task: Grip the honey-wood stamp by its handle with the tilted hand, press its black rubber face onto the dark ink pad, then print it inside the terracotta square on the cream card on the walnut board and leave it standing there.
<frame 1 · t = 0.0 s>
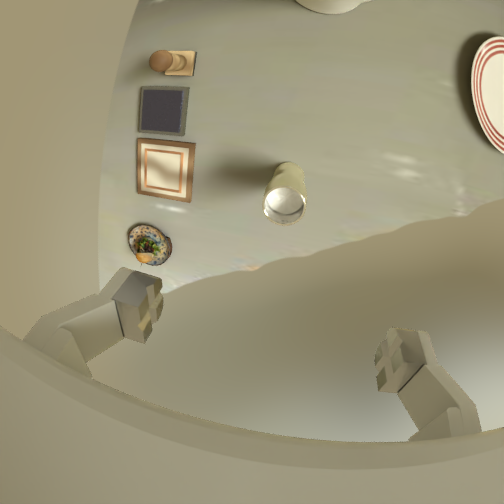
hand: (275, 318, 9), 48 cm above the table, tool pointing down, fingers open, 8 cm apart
plate of salad: (151, 242, 70), on the table
beer glass: (289, 176, 55), on the table
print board: (165, 168, 58), on the table
stamp: (183, 63, 45), on the table
ink pad: (164, 109, 51), on the table
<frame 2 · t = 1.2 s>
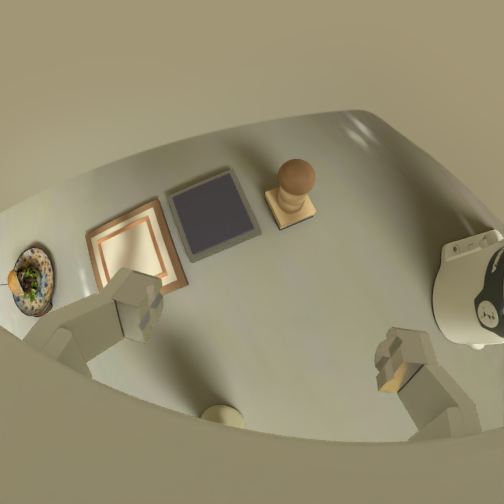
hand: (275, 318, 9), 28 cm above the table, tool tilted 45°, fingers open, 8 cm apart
plate of salad: (37, 282, 39), on the table
beer glass: (222, 423, 34), on the table
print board: (133, 258, 39), on the table
stamp: (288, 207, 39), on the table
ink pad: (213, 216, 39), on the table
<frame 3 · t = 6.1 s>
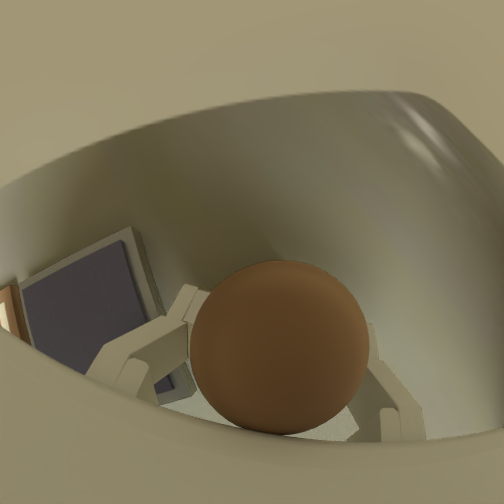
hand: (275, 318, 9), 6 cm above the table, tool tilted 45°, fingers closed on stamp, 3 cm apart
stamp: (265, 327, 16), on the table, touching gripper
ink pad: (96, 335, 16), on the table
when the fingers open (7 cm above the table, at t = 18.0 s): stamp stays where it is, resting on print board.
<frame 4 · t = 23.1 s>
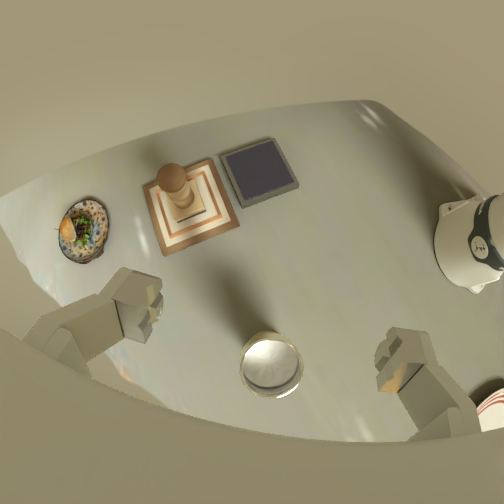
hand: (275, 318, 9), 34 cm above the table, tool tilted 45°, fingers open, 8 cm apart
dinner plate: (479, 441, 36), on the table
plate of salad: (86, 232, 47), on the table
beer glass: (266, 350, 42), on the table
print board: (188, 206, 47), on the table
stamp: (187, 204, 46), point 1 cm above the table, touching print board
ink pad: (259, 173, 48), on the table
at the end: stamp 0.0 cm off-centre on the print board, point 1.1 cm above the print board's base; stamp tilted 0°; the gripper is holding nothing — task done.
